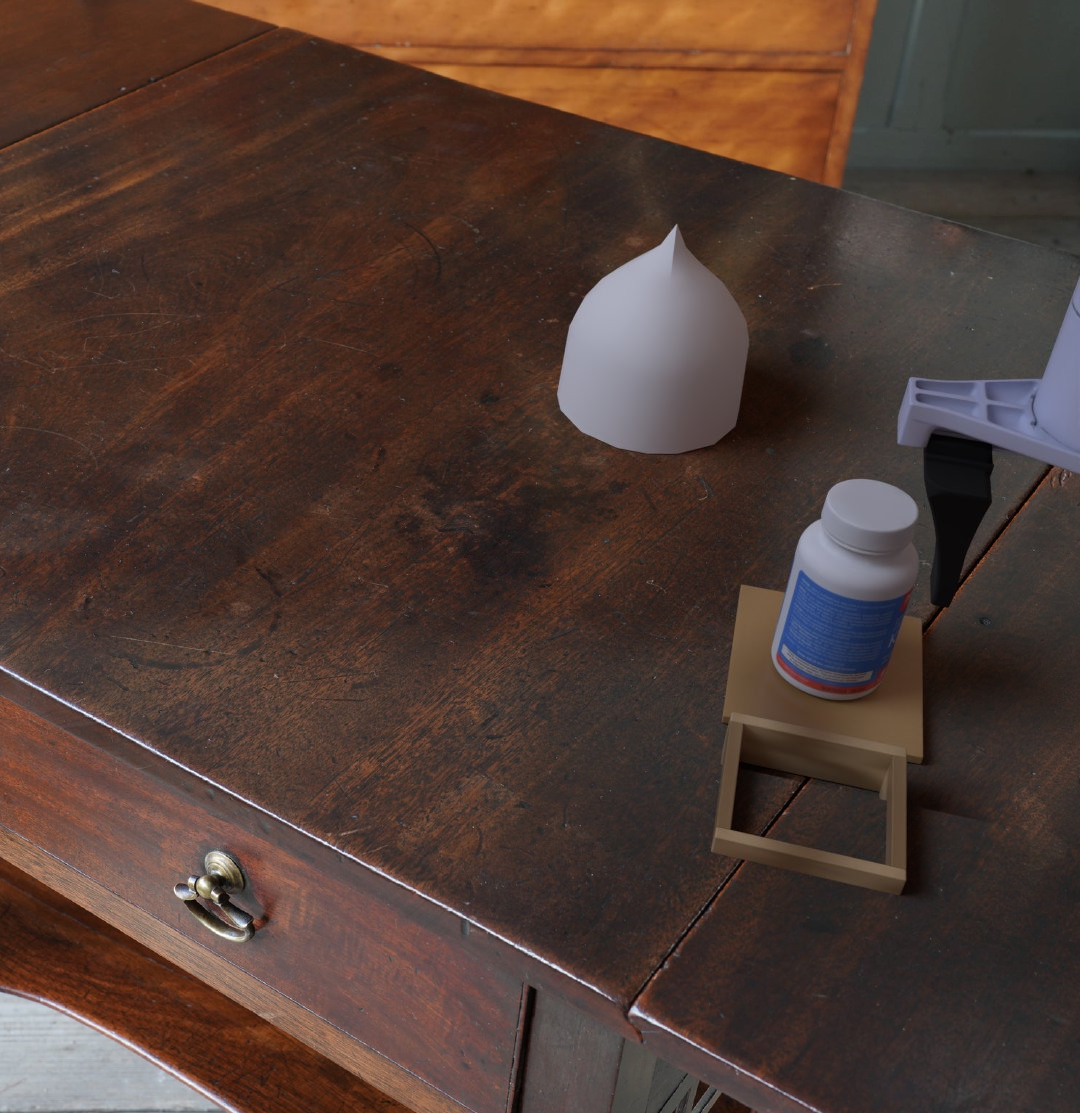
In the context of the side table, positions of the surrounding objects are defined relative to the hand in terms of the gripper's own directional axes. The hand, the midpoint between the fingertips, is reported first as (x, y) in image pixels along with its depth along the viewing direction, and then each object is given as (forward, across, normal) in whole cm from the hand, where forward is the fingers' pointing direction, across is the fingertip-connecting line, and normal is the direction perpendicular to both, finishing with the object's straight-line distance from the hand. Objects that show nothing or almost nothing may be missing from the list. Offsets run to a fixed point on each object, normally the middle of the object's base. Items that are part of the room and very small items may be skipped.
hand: (1038, 609), depth 60 cm
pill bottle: (+10, +6, -6) cm, 13 cm away
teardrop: (+11, +18, -27) cm, 34 cm away
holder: (+10, +7, +5) cm, 13 cm away
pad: (+10, +6, -6) cm, 13 cm away
